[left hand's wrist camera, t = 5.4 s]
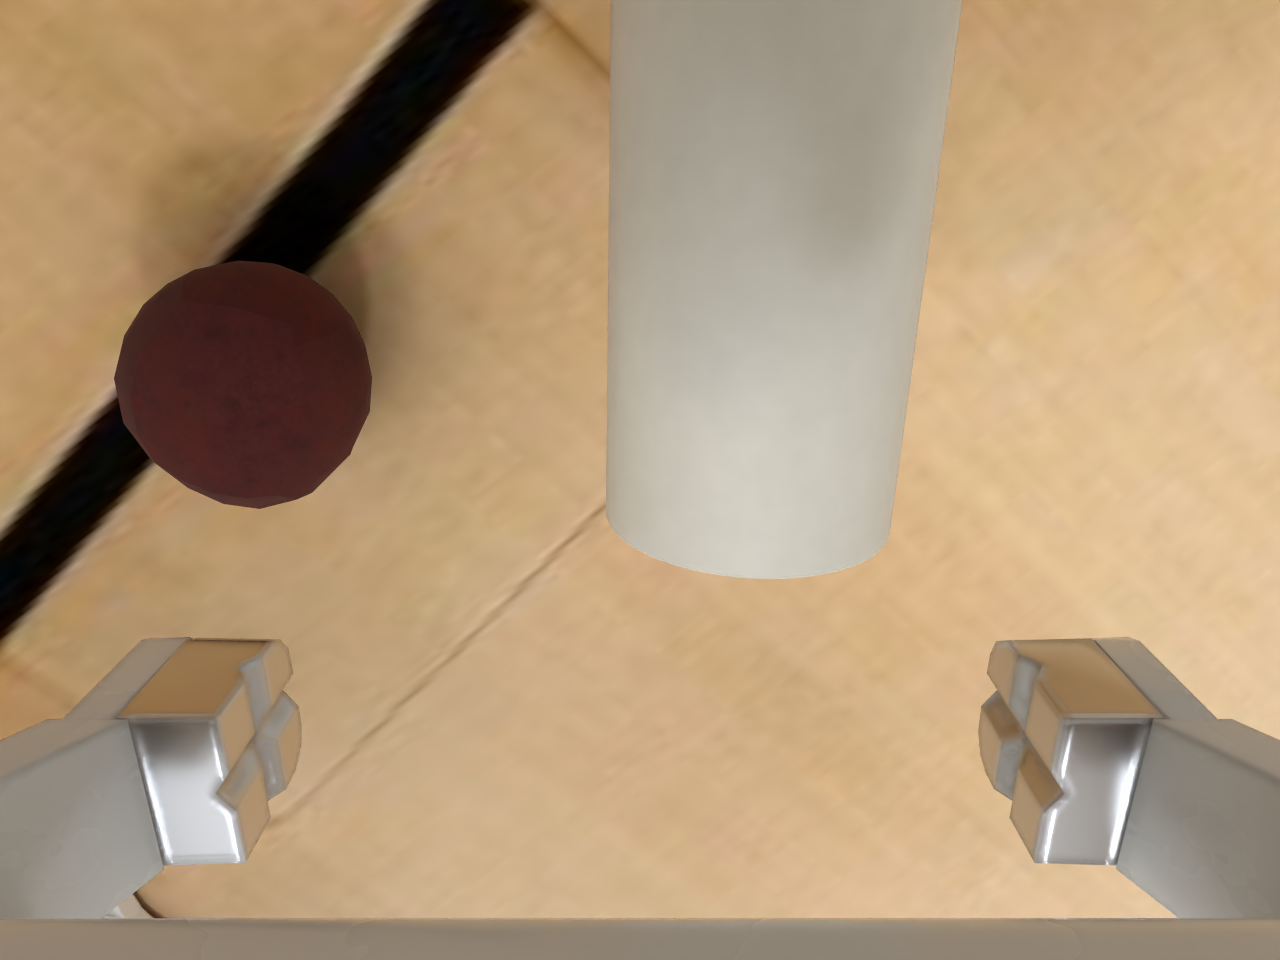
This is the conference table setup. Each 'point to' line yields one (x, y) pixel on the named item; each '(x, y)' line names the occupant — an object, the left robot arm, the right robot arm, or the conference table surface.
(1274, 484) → the conference table surface
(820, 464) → the rod
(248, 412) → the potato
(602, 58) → the conference table surface
